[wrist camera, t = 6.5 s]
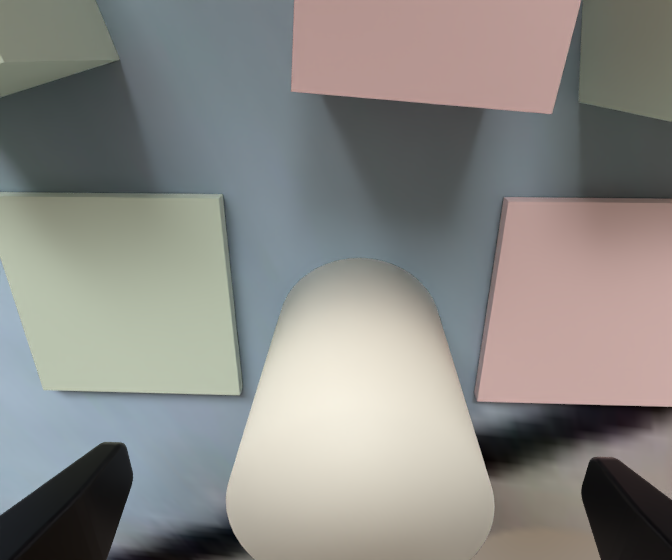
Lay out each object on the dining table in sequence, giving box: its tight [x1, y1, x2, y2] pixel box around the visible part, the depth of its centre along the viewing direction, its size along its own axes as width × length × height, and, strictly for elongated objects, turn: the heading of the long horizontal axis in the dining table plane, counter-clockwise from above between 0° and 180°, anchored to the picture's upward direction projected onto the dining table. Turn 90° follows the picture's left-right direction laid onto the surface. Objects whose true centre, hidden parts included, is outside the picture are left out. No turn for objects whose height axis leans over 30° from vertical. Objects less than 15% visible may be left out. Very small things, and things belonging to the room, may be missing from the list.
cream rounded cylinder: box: [226, 258, 495, 560], centre depth 11 cm, size 5×5×6 cm
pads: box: [0, 192, 672, 407], centre depth 13 cm, size 6×19×1 cm, turn 90°
